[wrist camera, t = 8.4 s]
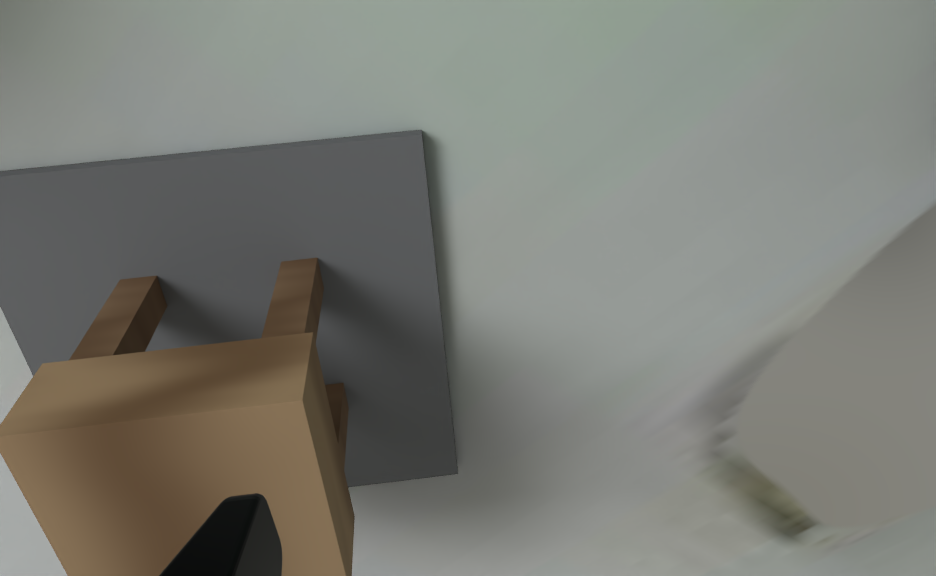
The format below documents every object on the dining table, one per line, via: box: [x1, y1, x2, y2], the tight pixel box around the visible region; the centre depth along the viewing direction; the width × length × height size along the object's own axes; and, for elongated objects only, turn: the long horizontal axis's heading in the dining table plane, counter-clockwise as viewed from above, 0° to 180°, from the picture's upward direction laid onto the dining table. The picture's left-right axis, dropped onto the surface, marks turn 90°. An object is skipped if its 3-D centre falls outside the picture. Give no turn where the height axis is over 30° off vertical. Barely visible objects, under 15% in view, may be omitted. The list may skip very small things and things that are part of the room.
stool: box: [0, 258, 354, 576], centre depth 19 cm, size 6×6×7 cm
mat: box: [0, 130, 458, 487], centre depth 22 cm, size 12×12×1 cm
